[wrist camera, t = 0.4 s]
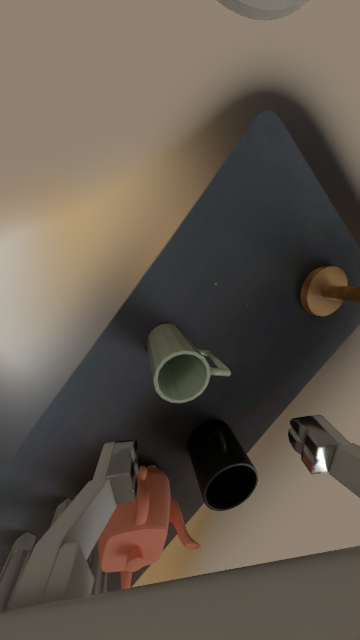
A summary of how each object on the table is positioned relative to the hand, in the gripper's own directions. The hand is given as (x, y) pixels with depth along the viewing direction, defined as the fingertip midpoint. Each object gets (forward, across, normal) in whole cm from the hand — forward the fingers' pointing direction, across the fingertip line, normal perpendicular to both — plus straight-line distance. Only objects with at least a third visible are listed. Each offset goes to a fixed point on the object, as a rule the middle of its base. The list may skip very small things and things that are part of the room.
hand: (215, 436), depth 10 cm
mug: (+20, -4, +25) cm, 33 cm away
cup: (+21, +1, +5) cm, 21 cm away
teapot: (+17, +11, +33) cm, 39 cm away
